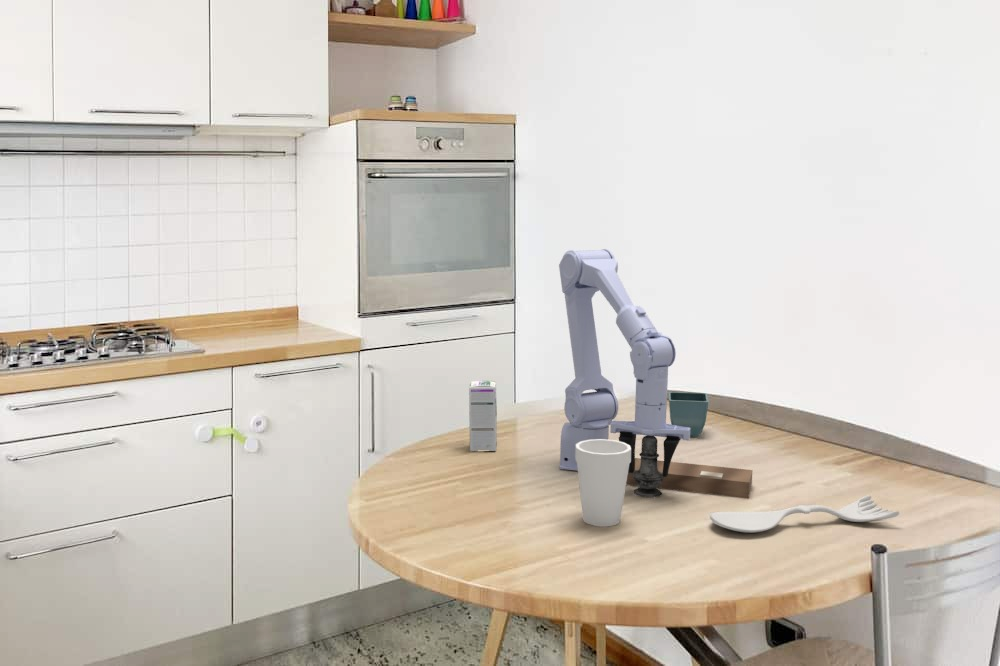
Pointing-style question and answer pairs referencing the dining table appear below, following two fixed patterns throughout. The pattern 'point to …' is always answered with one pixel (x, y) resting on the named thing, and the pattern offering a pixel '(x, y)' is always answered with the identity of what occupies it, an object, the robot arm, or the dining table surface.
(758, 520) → the spoon
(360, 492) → the dining table surface
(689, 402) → the flower pot
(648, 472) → the salt shaker
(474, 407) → the syrup box
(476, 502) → the dining table surface
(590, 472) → the foam cup
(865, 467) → the dining table surface
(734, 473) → the walnut fence board
